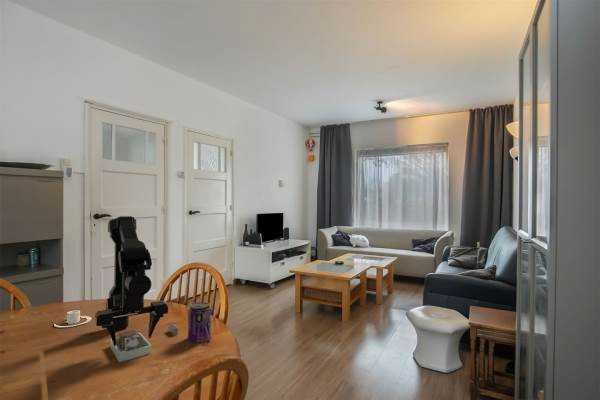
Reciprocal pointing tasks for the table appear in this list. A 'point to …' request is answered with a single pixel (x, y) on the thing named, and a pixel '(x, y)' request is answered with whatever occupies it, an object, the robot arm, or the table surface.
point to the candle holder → (74, 318)
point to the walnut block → (122, 337)
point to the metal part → (132, 342)
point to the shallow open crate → (123, 356)
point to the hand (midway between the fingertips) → (132, 341)
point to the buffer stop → (173, 330)
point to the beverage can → (199, 322)
